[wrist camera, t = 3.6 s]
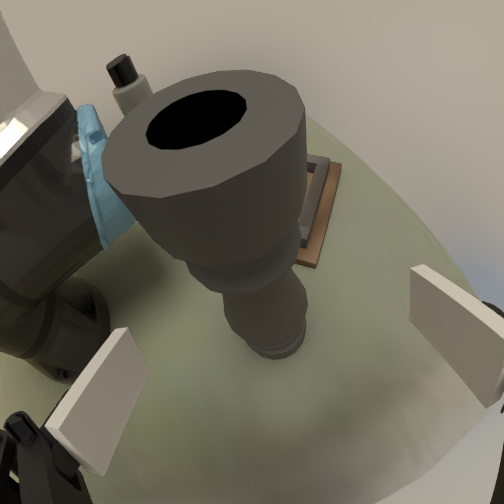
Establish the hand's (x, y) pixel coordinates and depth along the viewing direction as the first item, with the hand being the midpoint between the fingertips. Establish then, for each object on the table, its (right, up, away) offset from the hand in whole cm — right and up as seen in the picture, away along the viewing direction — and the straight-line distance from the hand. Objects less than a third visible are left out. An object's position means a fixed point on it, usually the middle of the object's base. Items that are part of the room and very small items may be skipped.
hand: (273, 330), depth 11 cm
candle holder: (+2, -5, +17) cm, 18 cm away
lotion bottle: (-17, +22, +35) cm, 44 cm away
